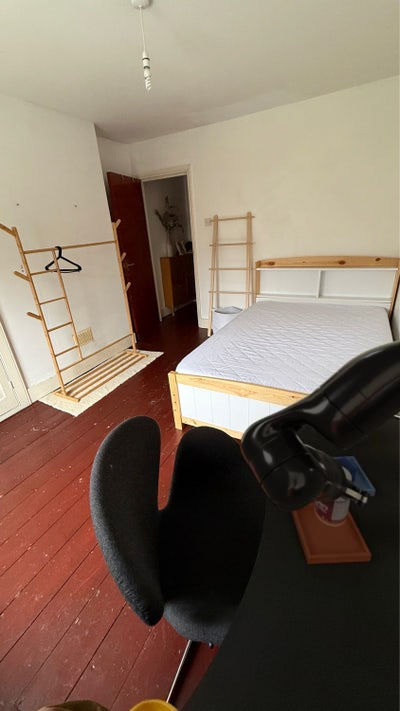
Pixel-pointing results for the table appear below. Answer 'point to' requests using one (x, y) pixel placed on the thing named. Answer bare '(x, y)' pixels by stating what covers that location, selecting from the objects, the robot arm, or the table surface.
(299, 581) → the table surface
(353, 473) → the blue block
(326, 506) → the pill bottle
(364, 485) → the blue tray
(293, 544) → the table surface
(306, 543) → the terracotta tray
